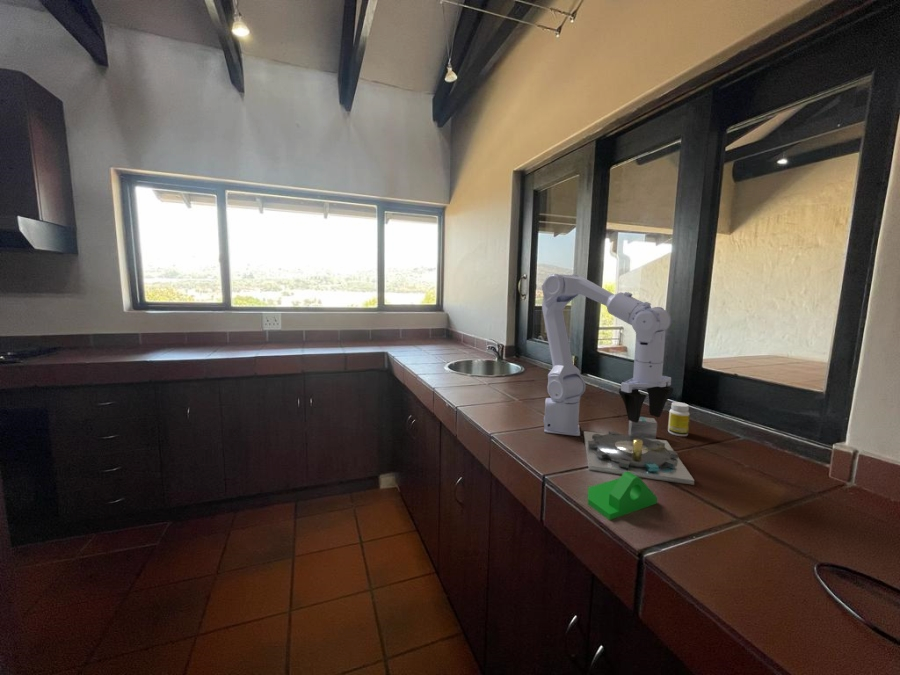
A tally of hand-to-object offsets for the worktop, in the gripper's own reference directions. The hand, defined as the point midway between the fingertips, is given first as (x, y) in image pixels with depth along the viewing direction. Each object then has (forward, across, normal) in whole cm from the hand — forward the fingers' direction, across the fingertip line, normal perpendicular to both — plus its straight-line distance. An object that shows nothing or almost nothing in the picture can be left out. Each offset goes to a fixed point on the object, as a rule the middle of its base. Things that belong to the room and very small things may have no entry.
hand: (644, 418), depth 80 cm
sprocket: (+9, -1, +2) cm, 9 cm away
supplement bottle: (+10, +23, +6) cm, 26 cm away
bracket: (+10, -19, -9) cm, 23 cm away
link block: (+10, +12, +8) cm, 18 cm away
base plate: (+10, -1, +2) cm, 10 cm away
